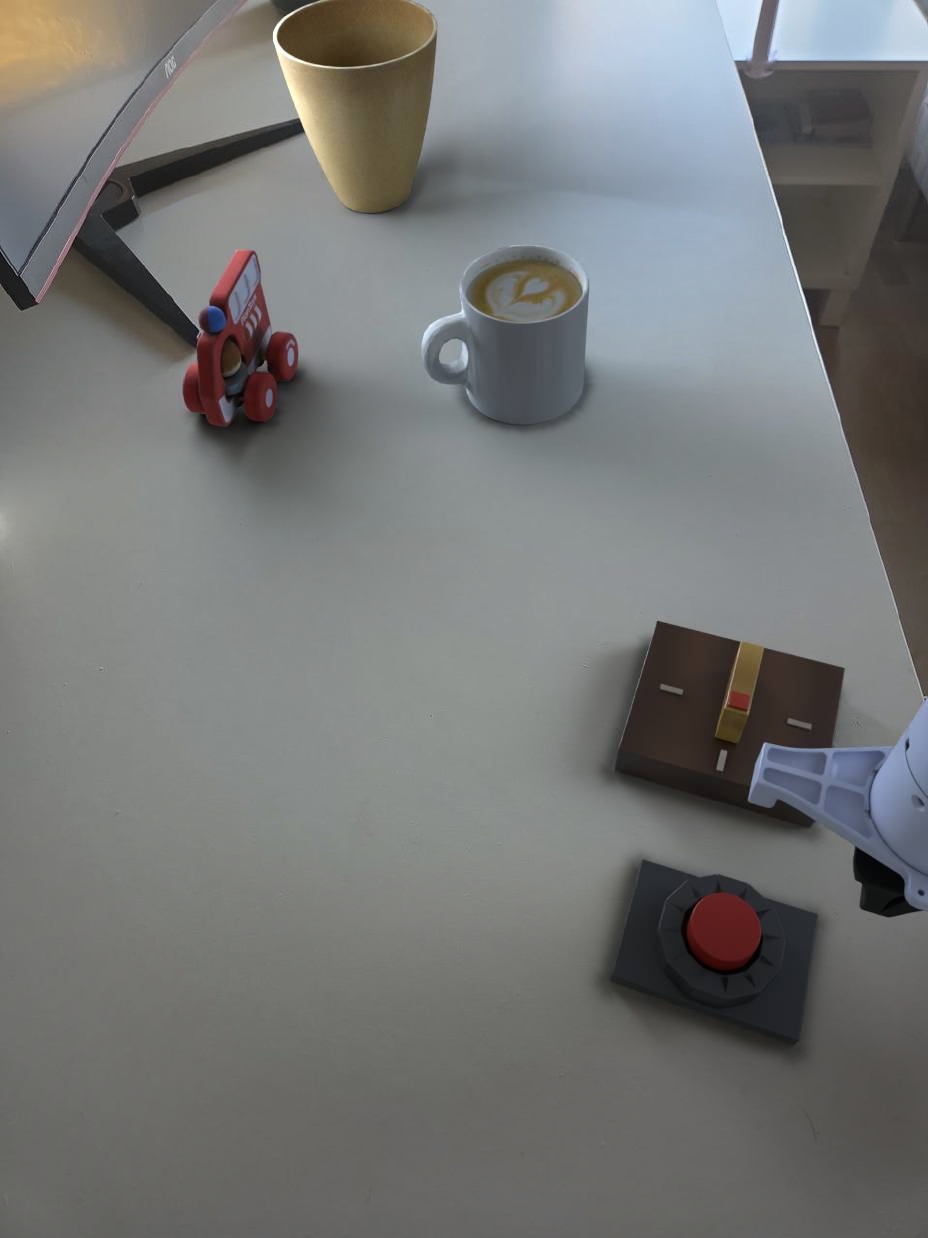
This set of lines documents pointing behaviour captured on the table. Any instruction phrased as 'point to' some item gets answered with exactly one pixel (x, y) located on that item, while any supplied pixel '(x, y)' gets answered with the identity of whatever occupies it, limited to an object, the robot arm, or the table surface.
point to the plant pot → (362, 92)
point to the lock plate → (690, 709)
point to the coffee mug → (517, 334)
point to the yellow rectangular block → (739, 692)
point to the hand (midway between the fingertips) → (876, 894)
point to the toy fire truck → (238, 349)
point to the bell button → (723, 931)
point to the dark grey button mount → (671, 972)
